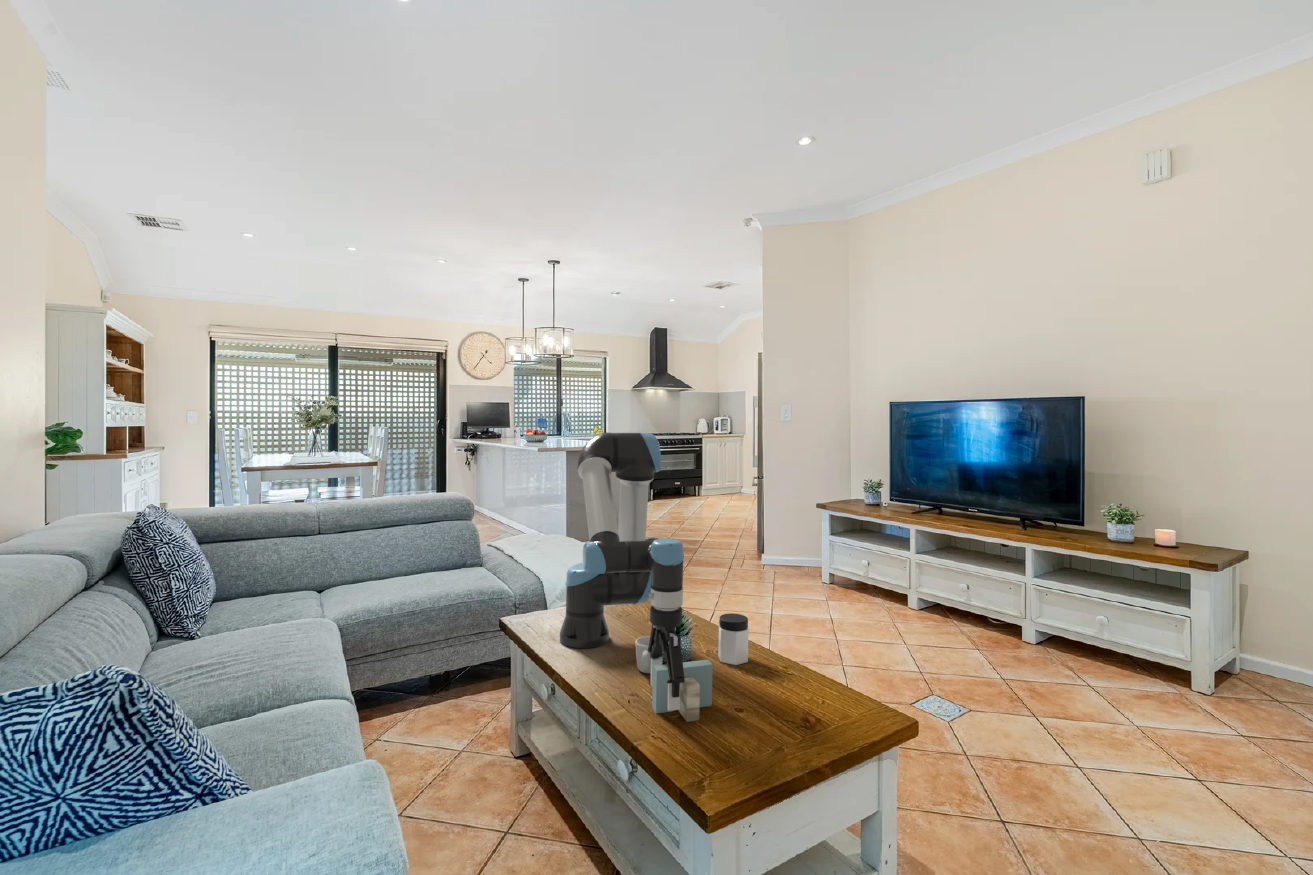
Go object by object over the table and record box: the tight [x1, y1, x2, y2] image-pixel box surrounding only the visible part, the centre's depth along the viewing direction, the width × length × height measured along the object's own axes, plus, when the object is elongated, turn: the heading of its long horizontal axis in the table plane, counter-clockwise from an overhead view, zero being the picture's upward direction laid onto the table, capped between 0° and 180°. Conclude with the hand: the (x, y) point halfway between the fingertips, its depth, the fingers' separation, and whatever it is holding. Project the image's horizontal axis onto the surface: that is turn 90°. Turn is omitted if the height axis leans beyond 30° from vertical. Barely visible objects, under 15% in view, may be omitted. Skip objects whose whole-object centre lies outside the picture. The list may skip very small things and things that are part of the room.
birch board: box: [677, 677, 700, 723], centre depth 142 cm, size 14×3×8 cm, turn 18°
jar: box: [717, 613, 749, 666], centre depth 172 cm, size 9×8×12 cm
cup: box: [634, 635, 664, 674], centre depth 162 cm, size 11×8×8 cm
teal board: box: [651, 659, 714, 714], centre depth 142 cm, size 3×14×10 cm, turn 108°
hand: (664, 696), depth 141 cm, fingers open, 12 cm apart
